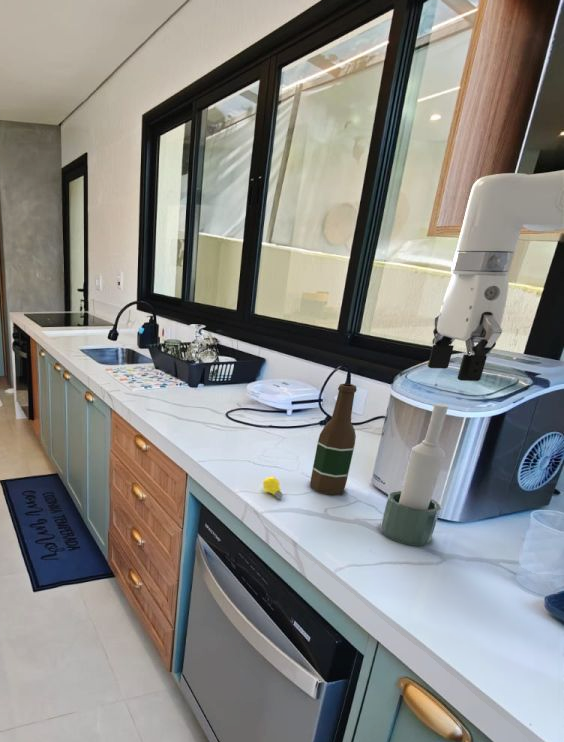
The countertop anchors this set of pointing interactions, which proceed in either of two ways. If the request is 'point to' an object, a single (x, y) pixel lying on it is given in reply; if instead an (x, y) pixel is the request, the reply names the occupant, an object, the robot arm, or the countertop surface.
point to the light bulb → (272, 486)
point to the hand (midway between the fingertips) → (452, 373)
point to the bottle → (424, 464)
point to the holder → (409, 521)
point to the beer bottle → (335, 446)
